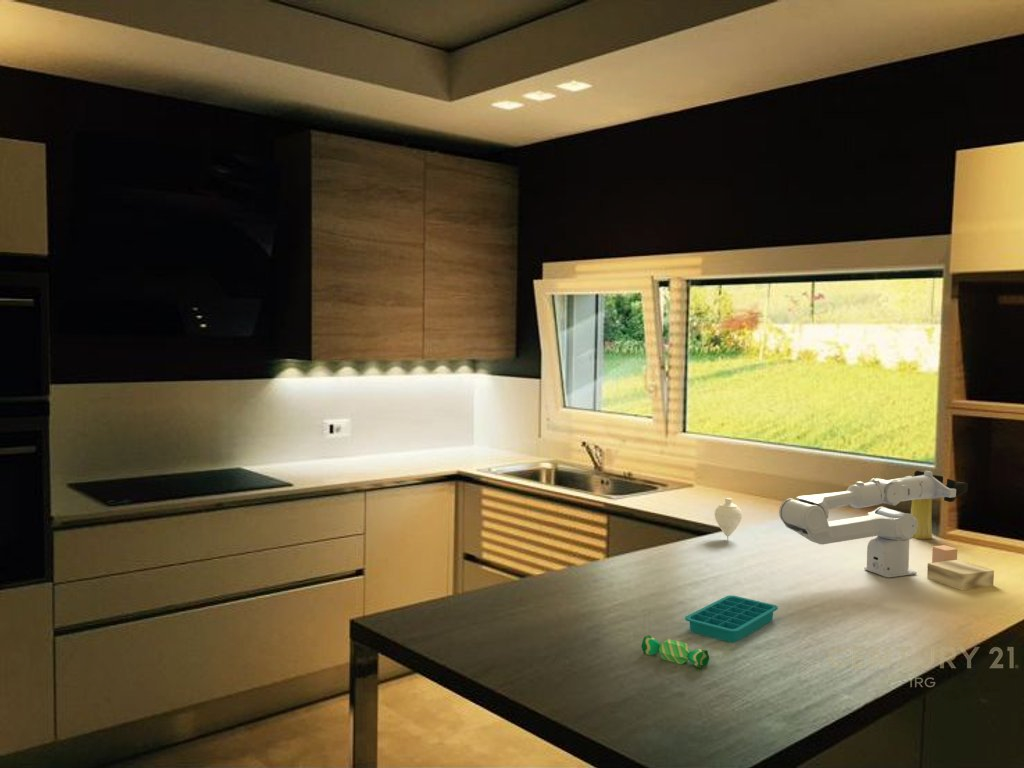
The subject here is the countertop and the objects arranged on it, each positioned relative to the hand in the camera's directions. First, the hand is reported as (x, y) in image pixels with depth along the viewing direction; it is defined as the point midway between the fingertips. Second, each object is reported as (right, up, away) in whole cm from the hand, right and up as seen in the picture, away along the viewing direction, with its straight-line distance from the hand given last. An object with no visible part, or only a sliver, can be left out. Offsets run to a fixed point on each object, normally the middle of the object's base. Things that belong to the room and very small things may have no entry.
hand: (954, 483), depth 219 cm
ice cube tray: (-68, -25, -43) cm, 84 cm away
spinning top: (-51, -19, +27) cm, 61 cm away
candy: (-83, -26, -61) cm, 107 cm away
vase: (+6, -19, +30) cm, 36 cm away
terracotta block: (-3, -21, -1) cm, 21 cm away
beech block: (-5, -22, -13) cm, 27 cm away
